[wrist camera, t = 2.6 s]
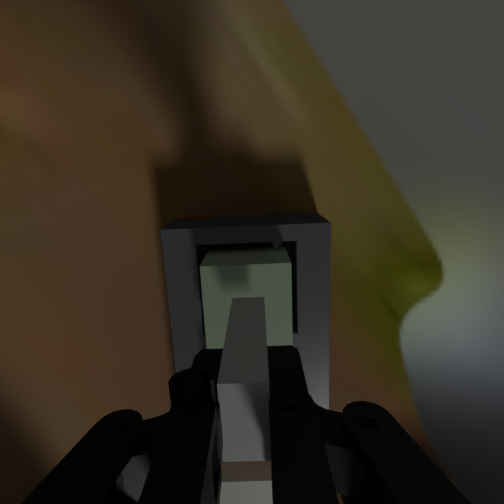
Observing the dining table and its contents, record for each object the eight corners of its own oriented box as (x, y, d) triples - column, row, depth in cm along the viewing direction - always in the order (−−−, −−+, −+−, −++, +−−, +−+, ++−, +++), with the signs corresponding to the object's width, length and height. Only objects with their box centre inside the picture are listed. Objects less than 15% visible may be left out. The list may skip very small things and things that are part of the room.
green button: (213, 320, 23) (206, 349, 19) (208, 250, 22) (199, 266, 18) (286, 318, 23) (292, 345, 19) (285, 247, 22) (291, 262, 18)
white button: (226, 491, 26) (222, 541, 23) (222, 438, 25) (217, 482, 22) (290, 489, 26) (296, 539, 23) (289, 435, 25) (295, 480, 21)
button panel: (200, 475, 29) (192, 522, 26) (175, 219, 24) (160, 229, 20) (317, 471, 29) (327, 518, 25) (318, 213, 24) (330, 222, 20)
